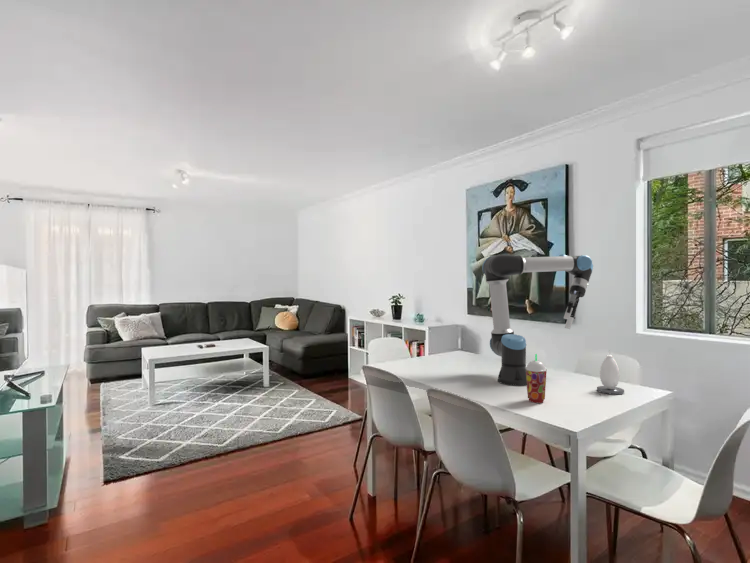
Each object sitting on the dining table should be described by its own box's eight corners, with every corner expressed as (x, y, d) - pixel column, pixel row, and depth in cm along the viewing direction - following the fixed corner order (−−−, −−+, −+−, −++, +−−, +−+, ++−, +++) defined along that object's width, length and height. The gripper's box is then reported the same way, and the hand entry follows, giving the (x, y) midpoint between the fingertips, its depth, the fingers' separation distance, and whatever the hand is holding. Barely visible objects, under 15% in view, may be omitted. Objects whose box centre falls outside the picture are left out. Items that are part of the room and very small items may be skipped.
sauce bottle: (623, 389, 195) (623, 350, 195) (611, 391, 192) (611, 351, 192) (607, 385, 202) (607, 347, 202) (596, 387, 199) (596, 349, 199)
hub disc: (620, 395, 189) (620, 393, 189) (593, 391, 197) (593, 388, 197) (627, 391, 197) (627, 388, 197) (601, 387, 204) (601, 384, 204)
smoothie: (537, 397, 186) (537, 352, 186) (551, 403, 178) (551, 355, 178) (521, 399, 183) (521, 353, 183) (534, 404, 175) (534, 356, 175)
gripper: (586, 279, 216) (573, 316, 210) (586, 299, 236) (575, 333, 230) (570, 276, 220) (558, 312, 214) (571, 295, 240) (560, 329, 234)
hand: (566, 323), depth 222 cm, fingers open, 13 cm apart
